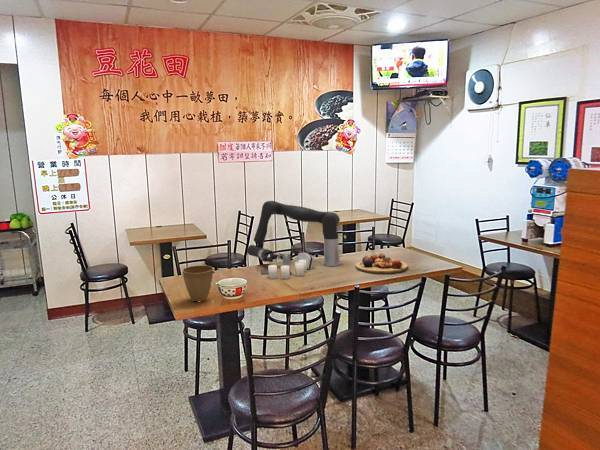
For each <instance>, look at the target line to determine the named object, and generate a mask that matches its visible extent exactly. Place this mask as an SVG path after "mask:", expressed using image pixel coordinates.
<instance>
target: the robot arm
mask: <svg viewBox="0 0 600 450" xmlns="http://www.w3.org/2000/svg"><path fill="white" fill-rule="evenodd" d="M273 215H278V216H279V215H280V216H285V217H287V218H289V219H292V220H294V221H298V222H302V223H303V222H304V223H319V224H321V226H322V235H323V258H324V259H323V260H324V261H323V265H324V266H327V267H337V266H340V263H341V262H340V259H341V258H340V250H339V234H338V228H337V227H338V226H337V225H339V223H340V222H341V221H340V219H341V218H340V216H339V215H338V214H337V213H336V212H330V211H329V212H327V211H320V210H316V209H312V208H308V207H303V206H299V205H293V204H284V203H281V202H278V201H276V200H266V201H265V202H264V203H263V204H262V206H261V212H260V218H259V222H258V225H257V229H256V231H255V234H254V236H253V242H255V243H256V244H257V245H255V244H250V245H248V247H247V249H246V251H247V254H248V255H249V256H252V257H256V258H258V259H260V260H261V261H262V262H264V263H266V262H267V263H273V261H279V260H282V261H283V254H284V253H280V252H279V253H275V252H274V251H273V250H270V249H267V248H264V243H265V240H266V237H267V233H268V227H269V226H268V225H269V221H270V219H271V217H272V216H273Z"/></svg>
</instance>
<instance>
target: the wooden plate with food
mask: <svg viewBox="0 0 600 450" xmlns="http://www.w3.org/2000/svg"><path fill="white" fill-rule="evenodd" d="M408 268H409V266H408V264H407V263H406V262H404V261H400V259H399V260H398V259H393V258H390V256H387V257H386V255H385V254H384V253H380V254H379V255H377V254H371V255H370V256H369V255H368V254H366V255H365V256H364V257H362V260H361V261H358V262H357V263H355V269H356V270H357V271H361V272H364V273H368V274H369V273H370V274H381V275H382V274H397V273H401V272H402V273H403V272H404V271H406V270H408Z"/></svg>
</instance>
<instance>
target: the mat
mask: <svg viewBox="0 0 600 450" xmlns="http://www.w3.org/2000/svg"><path fill="white" fill-rule="evenodd" d="M260 274H261V275H269V274H268V269H265V270H264V269H263V270H260Z"/></svg>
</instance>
